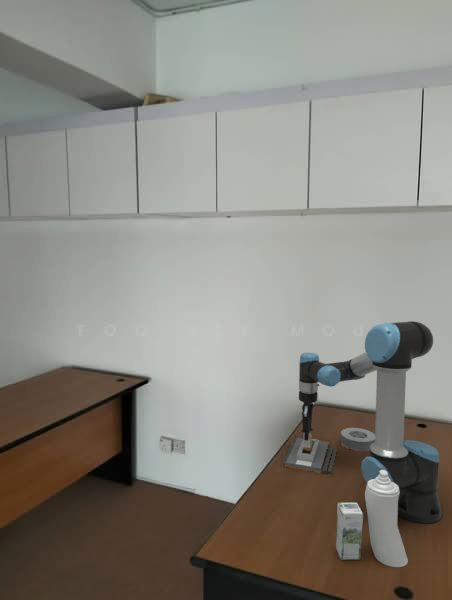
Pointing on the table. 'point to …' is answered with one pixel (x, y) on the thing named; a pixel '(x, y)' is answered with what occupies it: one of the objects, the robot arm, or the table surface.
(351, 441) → the tape roll
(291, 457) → the breaker panel
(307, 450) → the breaker toggle
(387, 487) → the spray can
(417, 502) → the robot arm
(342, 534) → the syrup box
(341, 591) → the table surface
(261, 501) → the table surface
